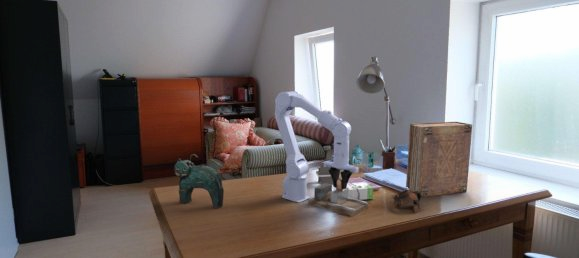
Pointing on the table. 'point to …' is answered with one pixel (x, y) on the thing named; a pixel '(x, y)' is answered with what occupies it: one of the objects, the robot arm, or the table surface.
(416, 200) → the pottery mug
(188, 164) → the ceramic cat
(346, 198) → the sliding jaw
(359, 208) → the base
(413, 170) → the book
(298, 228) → the table surface
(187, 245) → the table surface
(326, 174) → the architectural model
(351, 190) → the ink box
